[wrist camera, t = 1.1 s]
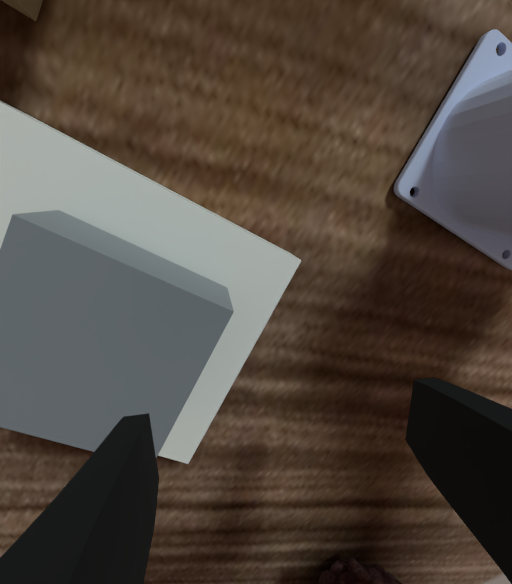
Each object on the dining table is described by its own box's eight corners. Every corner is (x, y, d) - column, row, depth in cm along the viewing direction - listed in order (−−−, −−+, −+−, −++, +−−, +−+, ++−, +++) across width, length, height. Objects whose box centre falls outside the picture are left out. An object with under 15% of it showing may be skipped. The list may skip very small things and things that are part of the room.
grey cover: (227, 287, 14) (233, 311, 11) (161, 415, 15) (151, 467, 12) (58, 210, 12) (12, 214, 9) (0, 364, 13) (-57, 411, 10)
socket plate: (289, 253, 16) (301, 260, 14) (189, 436, 18) (188, 463, 16) (-141, 26, 11) (-212, -10, 9) (-206, 316, 13) (-274, 336, 11)
